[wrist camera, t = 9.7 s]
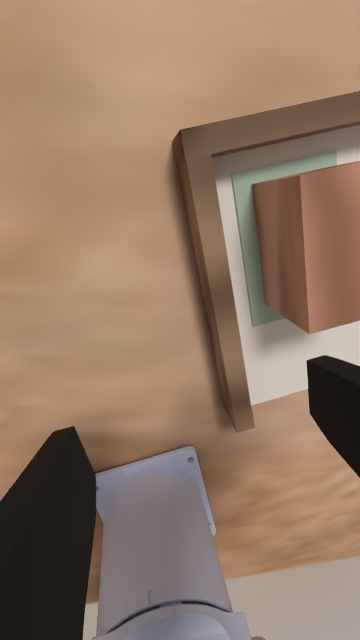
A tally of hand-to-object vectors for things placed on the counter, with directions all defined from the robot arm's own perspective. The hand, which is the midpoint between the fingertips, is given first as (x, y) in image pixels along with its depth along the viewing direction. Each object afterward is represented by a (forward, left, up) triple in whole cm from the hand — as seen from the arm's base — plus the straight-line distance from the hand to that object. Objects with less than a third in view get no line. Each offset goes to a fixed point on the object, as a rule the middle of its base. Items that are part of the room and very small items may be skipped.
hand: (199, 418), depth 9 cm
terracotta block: (+2, -8, -10) cm, 13 cm away
